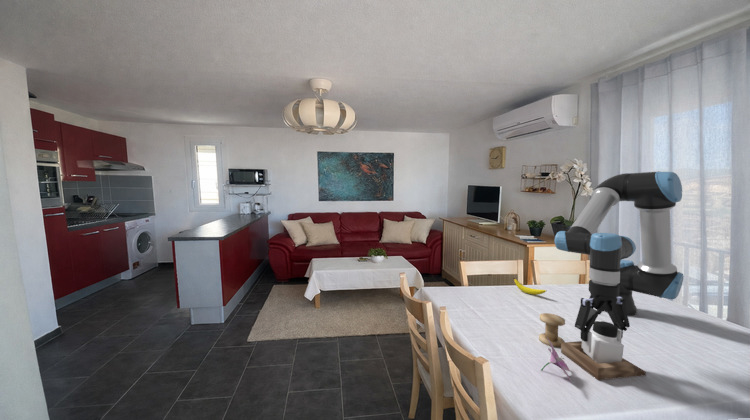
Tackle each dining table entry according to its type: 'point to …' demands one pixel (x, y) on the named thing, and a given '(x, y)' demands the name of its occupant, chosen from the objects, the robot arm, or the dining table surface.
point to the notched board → (599, 370)
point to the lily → (557, 360)
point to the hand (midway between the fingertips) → (601, 348)
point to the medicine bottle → (605, 343)
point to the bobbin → (551, 329)
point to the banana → (528, 290)
